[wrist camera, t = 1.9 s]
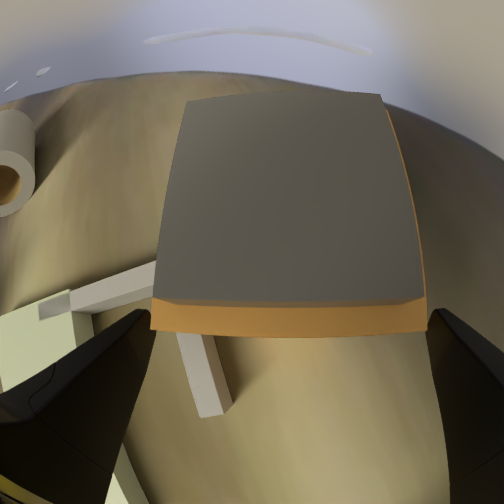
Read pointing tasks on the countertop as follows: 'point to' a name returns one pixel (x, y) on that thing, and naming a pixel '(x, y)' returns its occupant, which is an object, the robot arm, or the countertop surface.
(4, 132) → the toilet paper
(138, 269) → the plate with l-bracket
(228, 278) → the chute block
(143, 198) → the countertop surface
